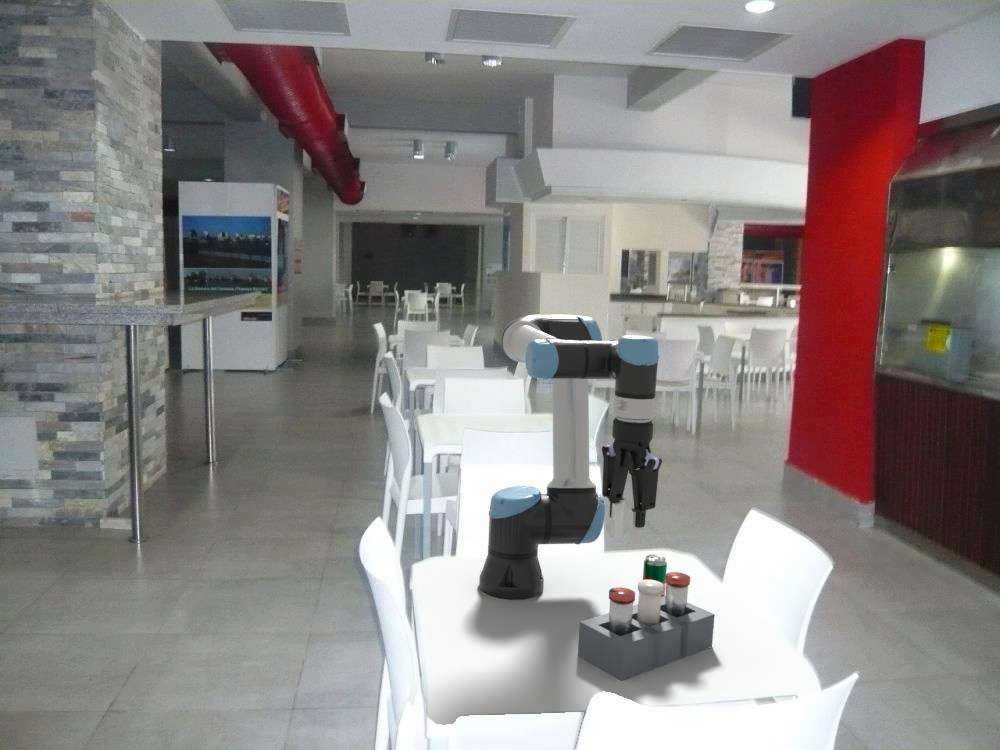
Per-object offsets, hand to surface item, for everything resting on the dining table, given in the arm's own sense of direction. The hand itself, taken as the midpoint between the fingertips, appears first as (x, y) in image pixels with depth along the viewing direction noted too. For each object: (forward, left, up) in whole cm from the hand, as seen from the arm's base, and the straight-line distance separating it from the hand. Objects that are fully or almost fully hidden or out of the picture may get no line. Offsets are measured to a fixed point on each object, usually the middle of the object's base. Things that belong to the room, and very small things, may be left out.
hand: (625, 538), depth 167 cm
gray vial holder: (0, +8, -25) cm, 26 cm away
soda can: (-14, +25, -25) cm, 38 cm away
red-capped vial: (0, 0, -20) cm, 20 cm away
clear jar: (0, +16, -20) cm, 25 cm away
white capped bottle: (0, +8, -20) cm, 21 cm away
